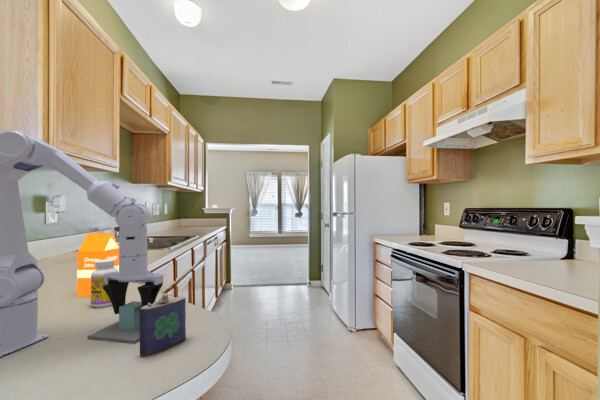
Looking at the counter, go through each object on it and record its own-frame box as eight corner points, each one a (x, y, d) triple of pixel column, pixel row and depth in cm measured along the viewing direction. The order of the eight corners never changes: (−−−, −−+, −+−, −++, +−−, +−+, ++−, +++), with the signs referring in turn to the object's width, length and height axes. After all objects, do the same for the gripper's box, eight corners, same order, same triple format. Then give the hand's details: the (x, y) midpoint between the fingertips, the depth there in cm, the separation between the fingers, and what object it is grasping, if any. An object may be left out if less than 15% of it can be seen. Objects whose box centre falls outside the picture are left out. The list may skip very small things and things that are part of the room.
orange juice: (103, 296, 89) (104, 234, 90) (76, 296, 89) (77, 234, 90) (119, 289, 97) (120, 232, 98) (95, 289, 97) (95, 232, 98)
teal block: (134, 330, 62) (134, 308, 62) (119, 329, 63) (119, 307, 63) (147, 323, 66) (147, 302, 66) (132, 322, 67) (133, 301, 67)
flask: (181, 336, 61) (181, 286, 61) (189, 340, 59) (189, 289, 59) (136, 354, 53) (136, 298, 53) (144, 359, 51) (144, 301, 52)
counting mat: (134, 343, 57) (134, 340, 57) (87, 338, 60) (87, 335, 60) (172, 320, 69) (172, 318, 69) (131, 317, 72) (131, 314, 72)
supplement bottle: (86, 306, 80) (86, 261, 81) (110, 299, 86) (110, 257, 87) (98, 309, 77) (98, 263, 78) (123, 302, 83) (123, 259, 84)
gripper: (171, 253, 67) (172, 309, 67) (121, 251, 70) (121, 305, 70) (150, 258, 61) (150, 321, 60) (95, 256, 64) (95, 316, 63)
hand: (133, 313), depth 65 cm, fingers open, 7 cm apart
